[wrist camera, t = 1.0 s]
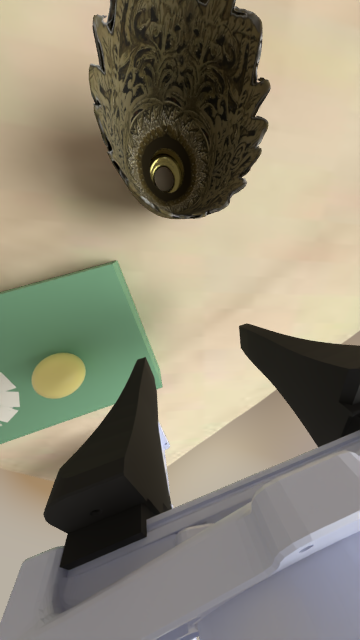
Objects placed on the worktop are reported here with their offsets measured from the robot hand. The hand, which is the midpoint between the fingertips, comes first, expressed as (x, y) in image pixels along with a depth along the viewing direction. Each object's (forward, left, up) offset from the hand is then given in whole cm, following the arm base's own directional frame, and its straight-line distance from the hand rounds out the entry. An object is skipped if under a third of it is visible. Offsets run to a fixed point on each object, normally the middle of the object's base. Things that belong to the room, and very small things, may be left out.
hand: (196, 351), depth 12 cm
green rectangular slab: (0, +15, -8) cm, 17 cm away
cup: (+12, -2, -8) cm, 14 cm away
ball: (0, +11, -3) cm, 11 cm away
